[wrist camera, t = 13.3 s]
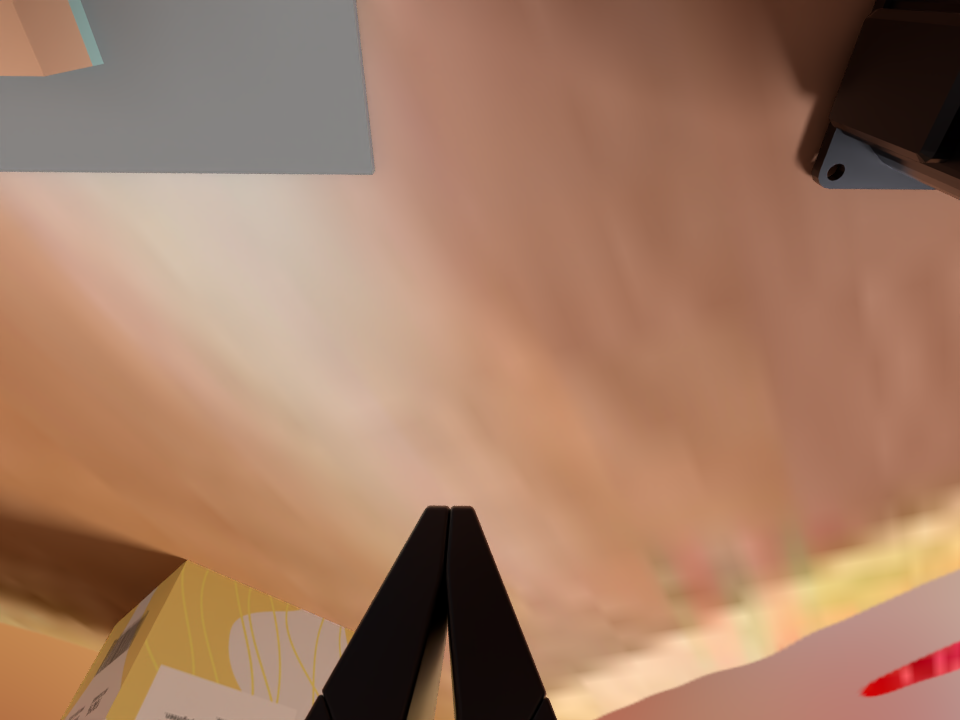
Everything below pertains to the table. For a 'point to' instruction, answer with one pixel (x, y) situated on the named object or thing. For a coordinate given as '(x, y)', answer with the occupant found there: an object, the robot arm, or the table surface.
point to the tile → (45, 38)
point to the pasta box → (210, 655)
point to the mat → (199, 93)
